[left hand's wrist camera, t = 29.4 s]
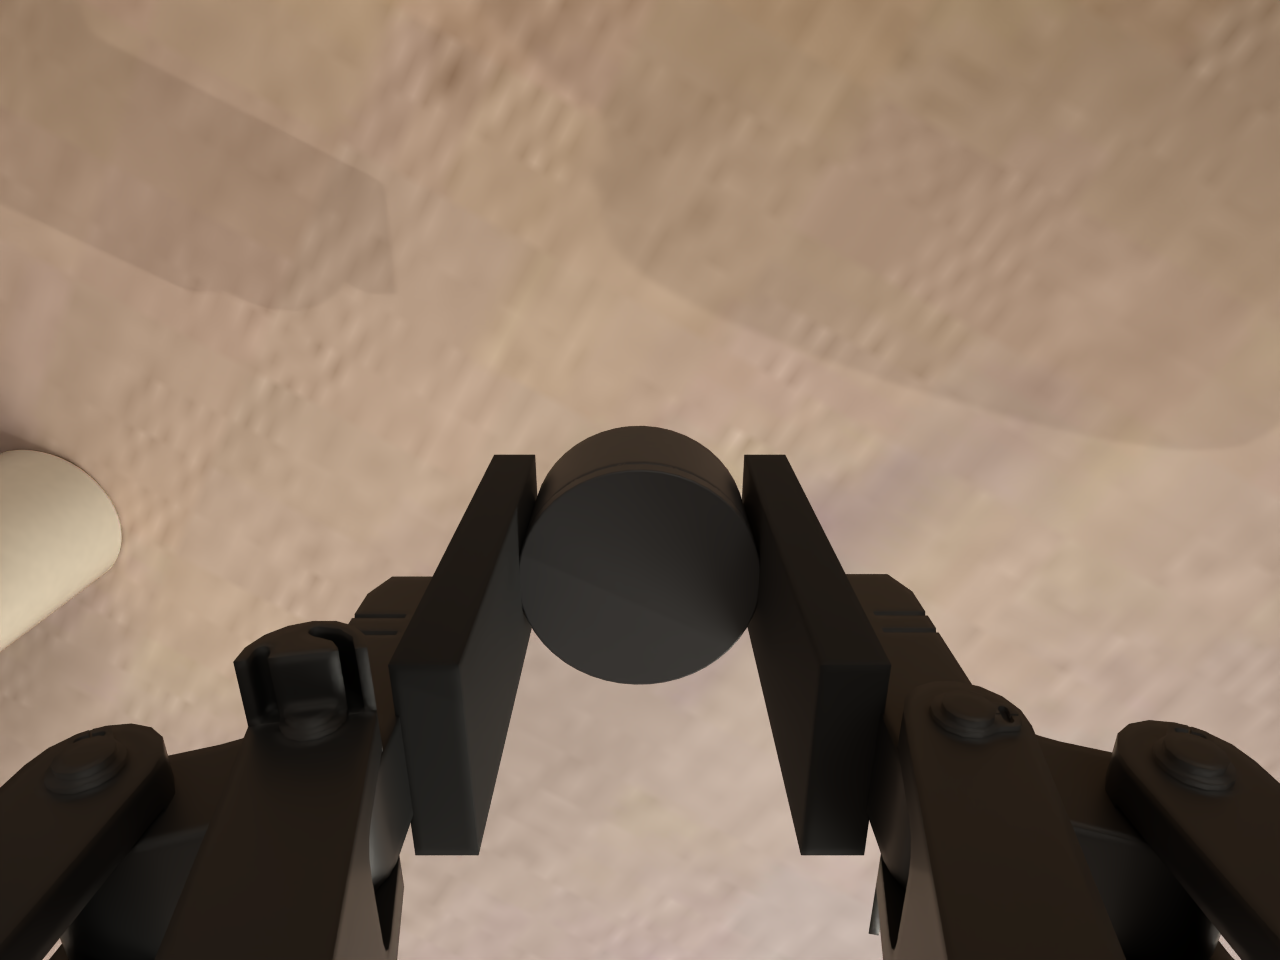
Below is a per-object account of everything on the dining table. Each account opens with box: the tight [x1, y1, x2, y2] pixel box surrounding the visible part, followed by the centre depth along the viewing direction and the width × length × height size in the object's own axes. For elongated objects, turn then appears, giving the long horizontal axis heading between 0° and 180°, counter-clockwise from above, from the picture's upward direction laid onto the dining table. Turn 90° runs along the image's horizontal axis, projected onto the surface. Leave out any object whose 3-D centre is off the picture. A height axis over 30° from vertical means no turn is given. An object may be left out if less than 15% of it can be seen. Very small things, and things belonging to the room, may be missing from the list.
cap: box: [519, 426, 760, 684], centre depth 14 cm, size 4×4×2 cm
